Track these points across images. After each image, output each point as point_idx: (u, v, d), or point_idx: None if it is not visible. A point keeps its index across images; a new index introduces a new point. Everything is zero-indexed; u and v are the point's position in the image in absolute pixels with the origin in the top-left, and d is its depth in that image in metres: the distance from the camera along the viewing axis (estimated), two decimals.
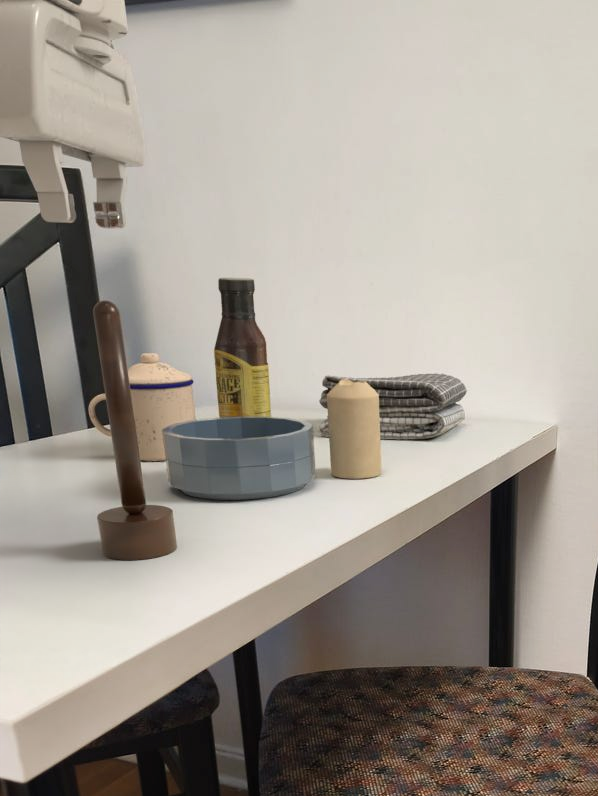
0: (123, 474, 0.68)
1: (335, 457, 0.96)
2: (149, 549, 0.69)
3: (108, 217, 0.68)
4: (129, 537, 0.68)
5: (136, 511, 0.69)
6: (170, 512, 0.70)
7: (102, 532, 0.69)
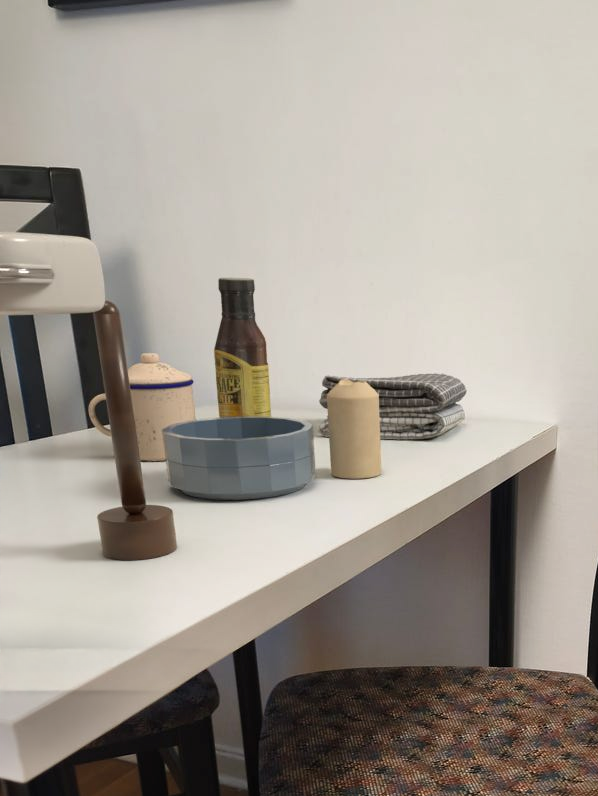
0: (123, 474, 0.68)
1: (335, 457, 0.96)
2: (149, 549, 0.69)
3: None
4: (129, 537, 0.68)
5: (136, 511, 0.69)
6: (170, 512, 0.70)
7: (102, 532, 0.69)
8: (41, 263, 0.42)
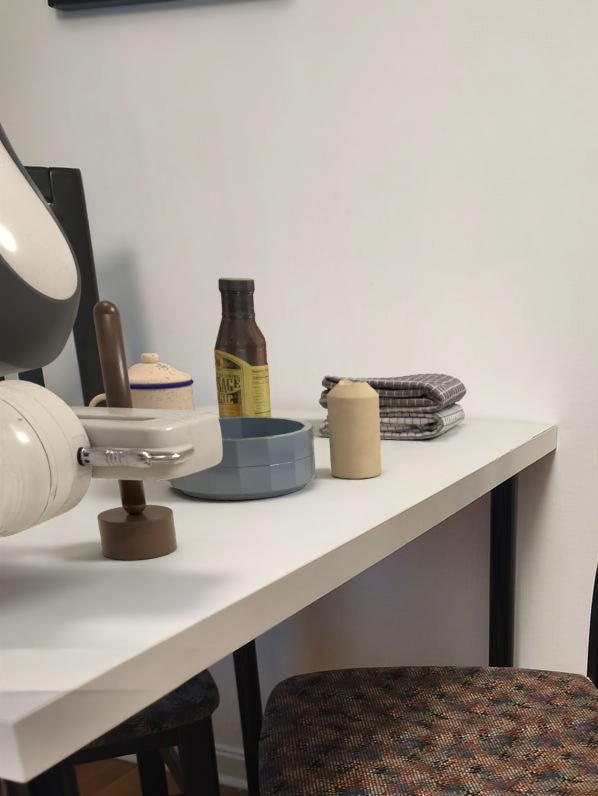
0: None
1: (335, 457, 0.96)
2: (149, 549, 0.69)
3: None
4: (129, 537, 0.68)
5: (136, 511, 0.69)
6: (170, 512, 0.70)
7: (102, 532, 0.69)
8: (185, 442, 0.58)
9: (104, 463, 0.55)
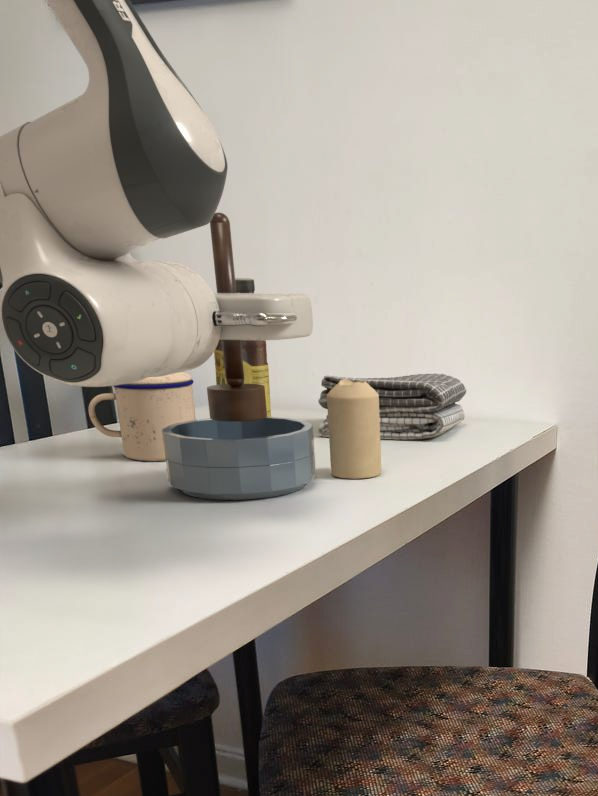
0: (228, 353, 0.87)
1: (335, 457, 0.96)
2: (248, 413, 0.87)
3: None
4: (233, 402, 0.87)
5: (237, 384, 0.88)
6: (263, 386, 0.89)
7: (211, 399, 0.87)
8: (289, 311, 0.76)
9: (232, 322, 0.74)
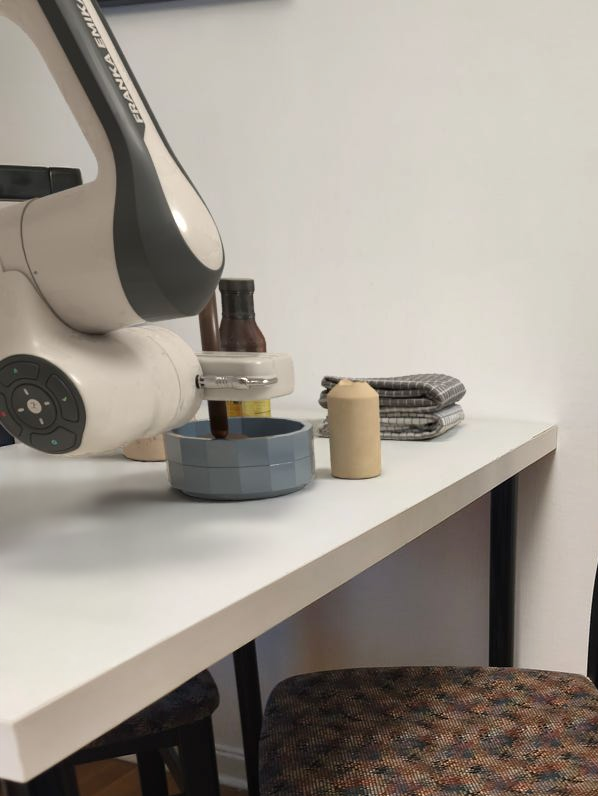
0: (213, 406, 0.89)
1: (335, 457, 0.96)
2: None
3: None
4: None
5: (221, 436, 0.90)
6: (247, 437, 0.91)
7: None
8: (270, 373, 0.78)
9: (215, 386, 0.75)
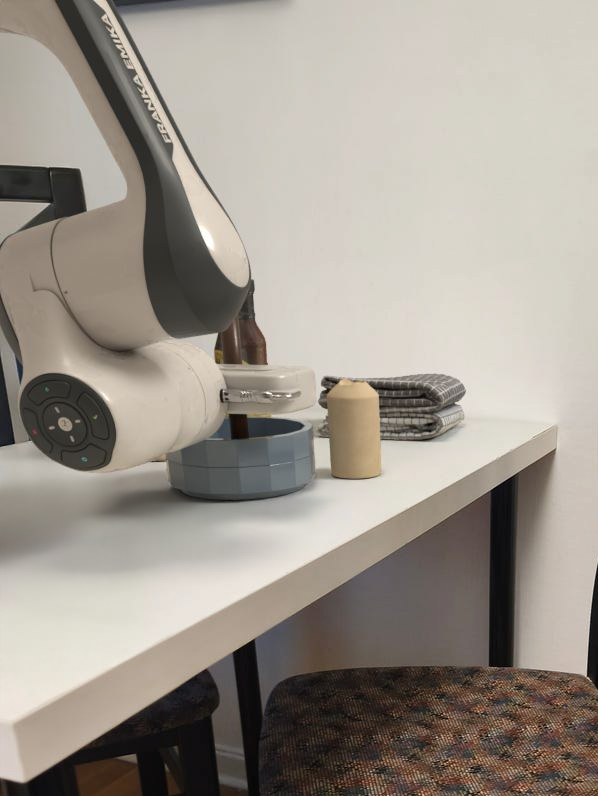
0: (234, 418, 0.89)
1: (335, 457, 0.96)
2: None
3: None
4: None
5: None
6: None
7: None
8: (293, 387, 0.79)
9: (239, 400, 0.76)
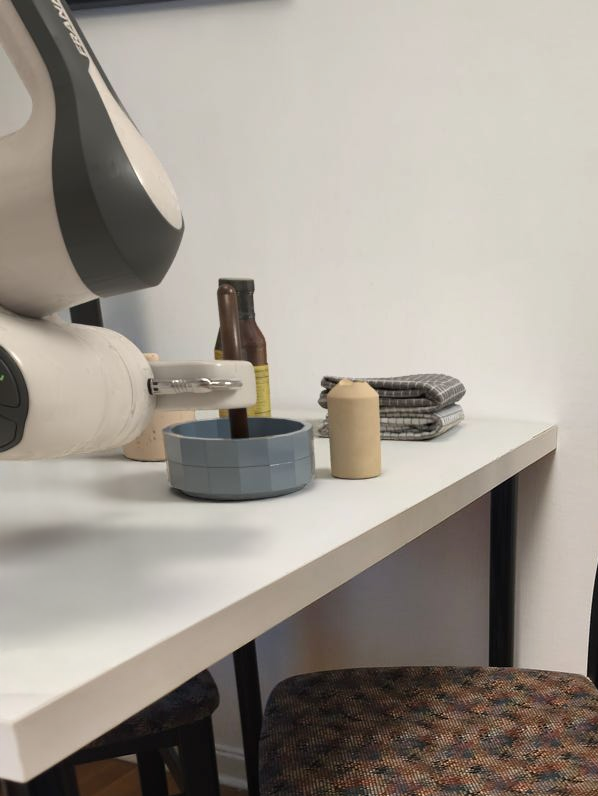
0: (234, 418, 0.89)
1: (335, 457, 0.96)
2: None
3: None
4: None
5: None
6: None
7: None
8: (233, 377, 0.68)
9: (171, 390, 0.65)
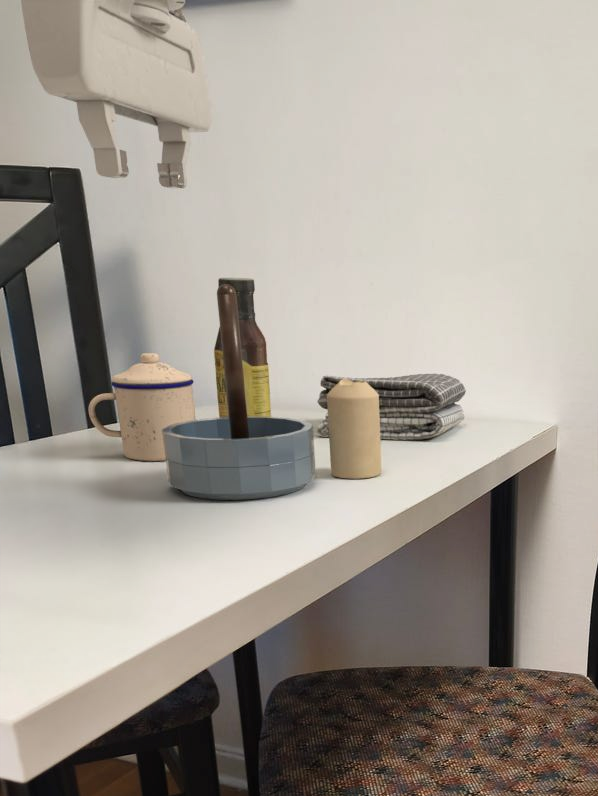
0: (234, 418, 0.89)
1: (335, 457, 0.96)
2: None
3: (170, 177, 0.74)
4: None
5: None
6: None
7: None
8: None
9: None
